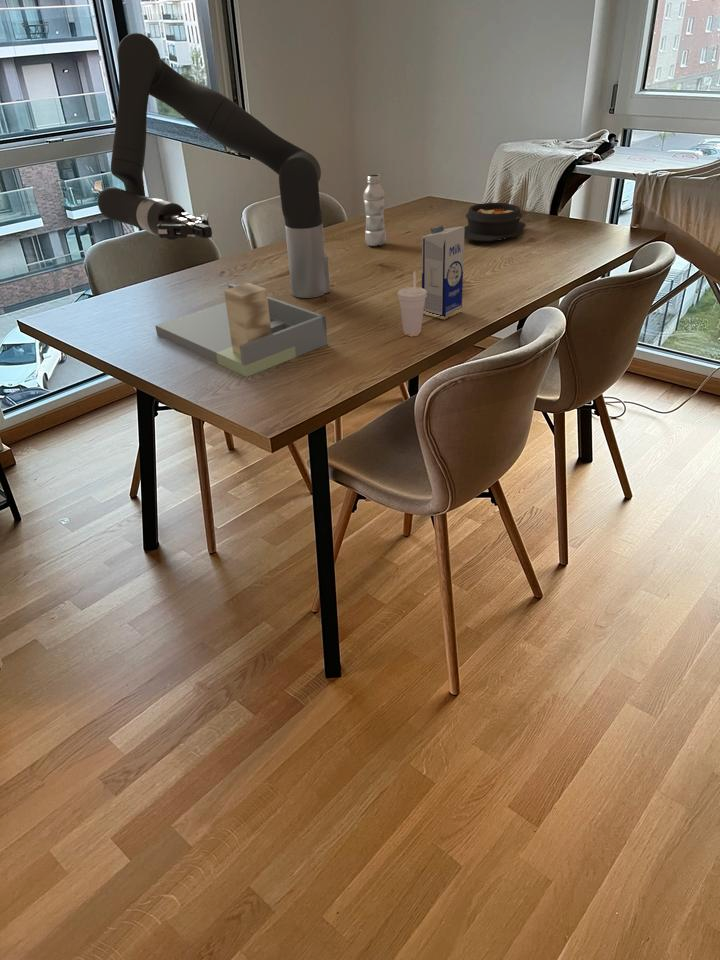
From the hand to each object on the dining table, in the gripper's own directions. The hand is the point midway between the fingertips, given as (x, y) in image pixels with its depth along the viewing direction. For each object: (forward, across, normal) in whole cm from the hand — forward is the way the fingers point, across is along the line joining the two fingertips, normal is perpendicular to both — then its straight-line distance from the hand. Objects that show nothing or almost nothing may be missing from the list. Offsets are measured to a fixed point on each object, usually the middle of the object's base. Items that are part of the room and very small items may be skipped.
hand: (208, 232), depth 153 cm
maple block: (+12, -1, +22) cm, 25 cm away
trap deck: (0, +5, +25) cm, 25 cm away
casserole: (-7, +106, +25) cm, 110 cm away
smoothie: (+27, +32, +24) cm, 48 cm away
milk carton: (+24, +46, +24) cm, 57 cm away
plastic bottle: (-28, +77, +26) cm, 86 cm away
